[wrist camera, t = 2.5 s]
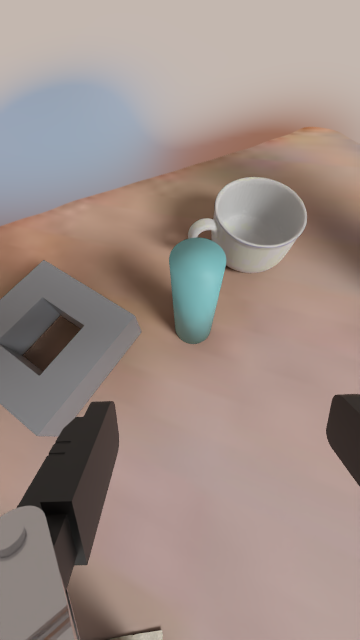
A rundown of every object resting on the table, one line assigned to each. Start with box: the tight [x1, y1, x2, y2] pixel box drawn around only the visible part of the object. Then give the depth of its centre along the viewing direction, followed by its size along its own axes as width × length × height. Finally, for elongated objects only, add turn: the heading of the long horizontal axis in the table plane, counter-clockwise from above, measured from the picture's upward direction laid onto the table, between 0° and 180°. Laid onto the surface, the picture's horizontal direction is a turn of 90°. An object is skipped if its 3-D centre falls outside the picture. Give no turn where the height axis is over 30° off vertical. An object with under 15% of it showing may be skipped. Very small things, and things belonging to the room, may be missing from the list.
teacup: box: [188, 177, 307, 273], centre depth 32 cm, size 14×11×8 cm
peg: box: [169, 238, 226, 344], centre depth 25 cm, size 4×4×13 cm
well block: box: [0, 260, 141, 436], centre depth 28 cm, size 14×14×4 cm
